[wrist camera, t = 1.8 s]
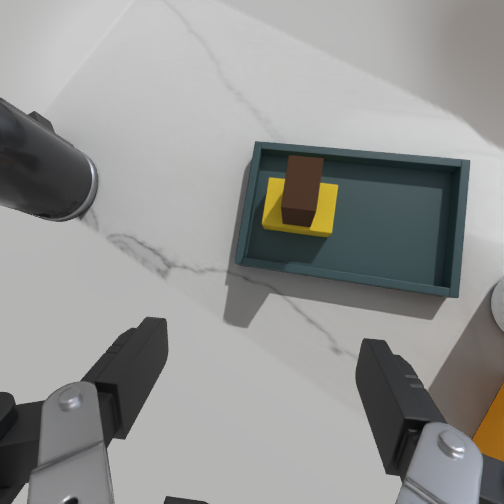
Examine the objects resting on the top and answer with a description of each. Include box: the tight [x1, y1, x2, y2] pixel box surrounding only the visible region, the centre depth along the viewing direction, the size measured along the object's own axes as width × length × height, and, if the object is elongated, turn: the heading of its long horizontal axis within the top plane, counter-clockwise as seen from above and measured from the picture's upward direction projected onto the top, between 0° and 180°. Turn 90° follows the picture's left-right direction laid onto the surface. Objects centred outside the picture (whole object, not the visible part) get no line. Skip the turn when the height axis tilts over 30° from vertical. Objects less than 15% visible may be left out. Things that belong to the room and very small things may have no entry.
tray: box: [235, 141, 470, 298], centre depth 30 cm, size 22×14×2 cm, turn 81°
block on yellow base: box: [262, 155, 338, 238], centre depth 27 cm, size 7×5×8 cm
